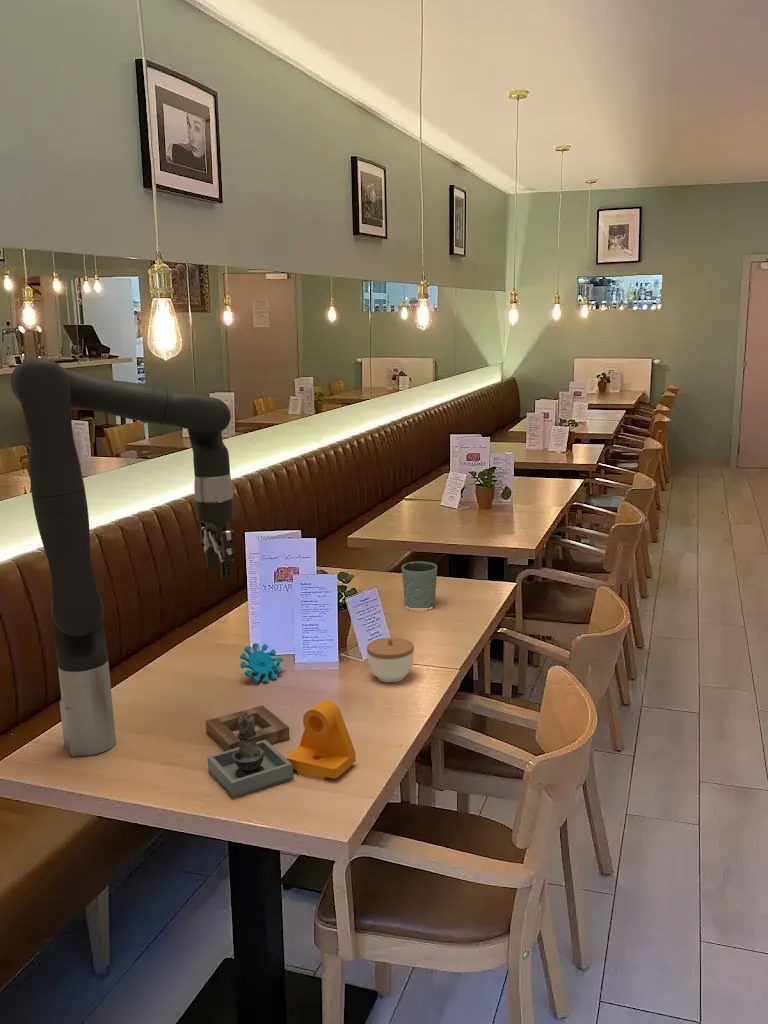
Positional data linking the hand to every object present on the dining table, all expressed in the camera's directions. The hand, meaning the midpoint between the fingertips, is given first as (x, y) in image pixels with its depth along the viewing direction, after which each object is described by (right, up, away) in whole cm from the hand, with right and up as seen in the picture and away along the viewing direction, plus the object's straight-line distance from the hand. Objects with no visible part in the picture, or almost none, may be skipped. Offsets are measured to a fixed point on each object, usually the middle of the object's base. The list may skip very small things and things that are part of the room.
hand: (219, 574), depth 182 cm
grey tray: (+9, -35, -20) cm, 42 cm away
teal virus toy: (+6, -26, +24) cm, 36 cm away
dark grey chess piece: (+9, -35, -20) cm, 41 cm away
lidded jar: (+35, -25, +22) cm, 49 cm away
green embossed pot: (+44, -14, +71) cm, 85 cm away
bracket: (+22, -35, -18) cm, 45 cm away
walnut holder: (+6, -32, -5) cm, 33 cm away
